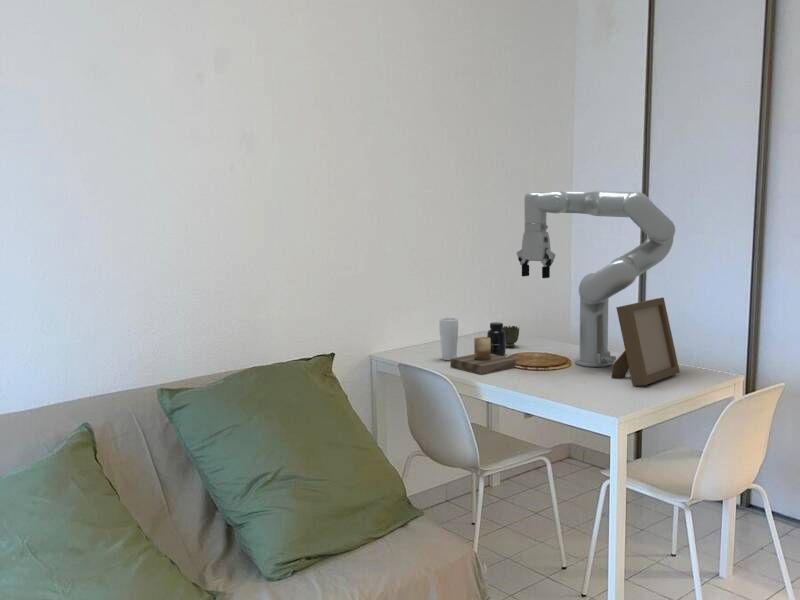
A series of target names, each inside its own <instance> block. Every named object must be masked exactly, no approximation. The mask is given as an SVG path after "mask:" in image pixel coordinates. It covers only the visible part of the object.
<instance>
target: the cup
mask: <svg viewBox="0 0 800 600" xmlns="http://www.w3.org/2000/svg"><path fill="white" fill-rule="evenodd" d="M502 330H504V331H505V333H506V348H509V349H510V348H511V347H512V348H515V346H516V345H515V344H516V343H517V342H518V340H519V336H520V335H519V334H520V327H518V326H516V325H512V326H511V325H509V326H507V325H503V329H502Z"/></svg>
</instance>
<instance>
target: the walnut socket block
mask: <svg viewBox="0 0 800 600" xmlns="http://www.w3.org/2000/svg"><path fill="white" fill-rule="evenodd" d="M474 357H475V355H474V353H473V354H467V355H463V356H462V355H461V356H458V357H456V358H451V359H450V362H449V363H450V368H452V369H457V370H462V371H465V372H469V373H474V374H477V375H481V376H482V375H487V374H492V373H496V372H501V371H505V370H510V369H515V364H516V365H517V359H516V358H513V357H508V356H505V355H504V356H500V355H495V354H491V359H490V360H484V361H481V360H475V359H474Z"/></svg>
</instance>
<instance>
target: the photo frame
mask: <svg viewBox="0 0 800 600" xmlns="http://www.w3.org/2000/svg"><path fill="white" fill-rule="evenodd" d="M615 309H616V313H617V317H618V318H617V319H618V322H619V327H620V332H621V337H622V340H623V346H624V351H623V352H622V353H621V354H620V356H618V357H617V358H616V360H615V361H614V362H613V363H612V365H611V366H612V368H611V379H616V378H617V379H618V378H626V375H627V373H628V371H629V374H630V375H629V376H630V378H631V384H632V387H637V386H647V385H648V384H649V385H650V384H652V383H654V382H655V383H656V382H657V381H658V382H659V381H660V380H662V379H665V378H666V379H667V378H668V377H671V376H674V375H676V374H680V372H681V371H680V368H679V367H680V366H679V364H678V363H679V362H678V358H677V353H676V349H675V343H674V339H673V333H672V330H671V325H670V320H669V314H668V311H667V306H666V302H665V297H658V298H652V299H648V300H644V301H643V300H642V301H639V302H634V303H629V304H626V305H621V306H616V307H615Z"/></svg>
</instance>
